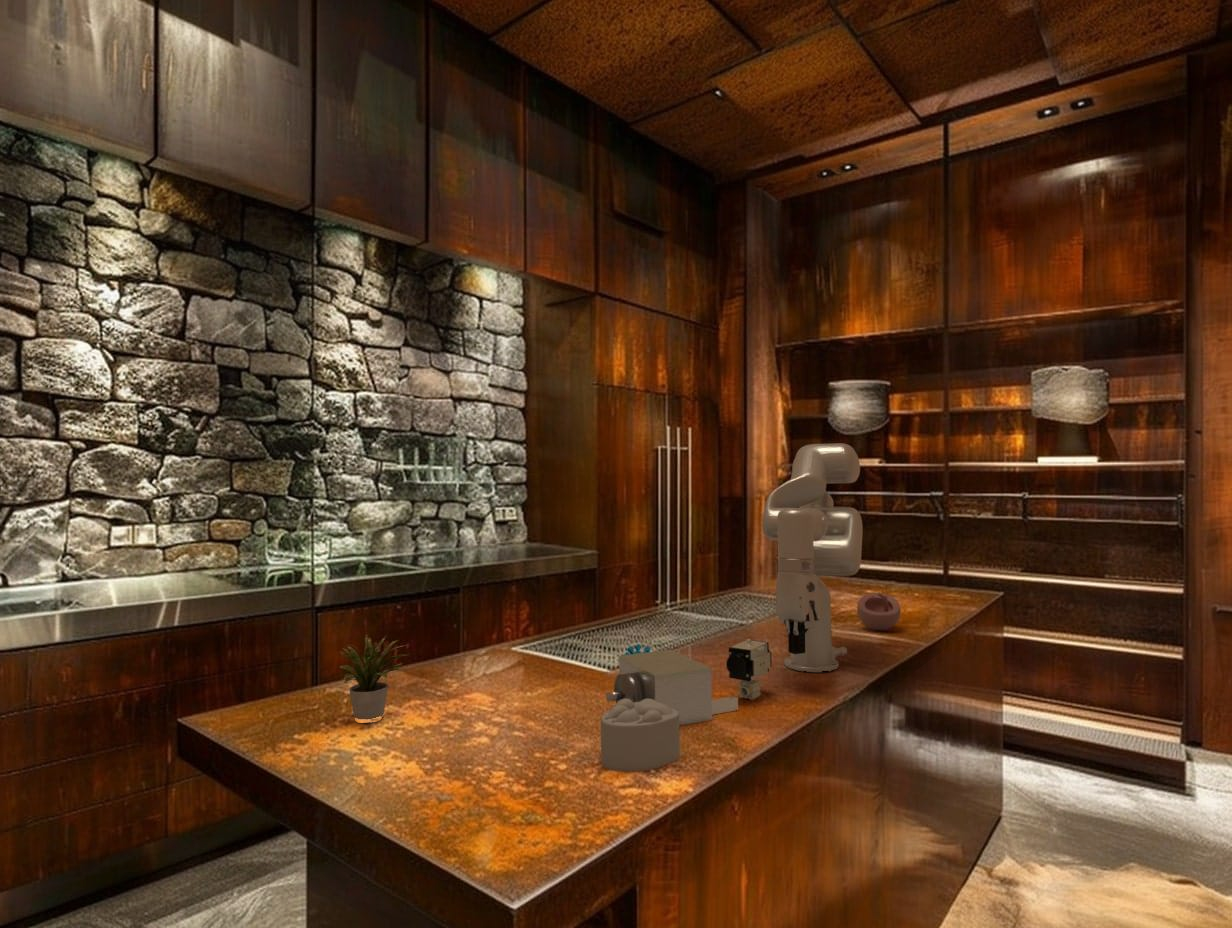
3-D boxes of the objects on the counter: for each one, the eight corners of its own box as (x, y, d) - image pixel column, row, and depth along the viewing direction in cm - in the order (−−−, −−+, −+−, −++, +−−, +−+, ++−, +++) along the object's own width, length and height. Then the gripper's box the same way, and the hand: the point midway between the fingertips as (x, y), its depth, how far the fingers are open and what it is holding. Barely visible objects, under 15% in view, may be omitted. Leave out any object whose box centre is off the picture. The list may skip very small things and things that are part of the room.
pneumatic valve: (726, 702, 143) (725, 643, 144) (752, 688, 153) (751, 632, 153) (750, 707, 140) (749, 646, 140) (776, 693, 149) (775, 636, 150)
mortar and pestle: (861, 634, 204) (860, 594, 204) (854, 625, 216) (853, 588, 216) (905, 635, 202) (904, 595, 202) (895, 626, 214) (894, 588, 214)
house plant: (371, 739, 125) (371, 646, 126) (310, 730, 130) (310, 641, 131) (420, 713, 139) (419, 630, 139) (363, 706, 144) (362, 626, 144)
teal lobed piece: (632, 681, 154) (620, 642, 160) (621, 695, 157) (610, 656, 164) (675, 681, 159) (661, 643, 166) (663, 695, 162) (650, 657, 169)
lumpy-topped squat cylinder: (688, 758, 115) (687, 705, 115) (624, 778, 108) (623, 721, 108) (648, 739, 124) (647, 690, 124) (586, 757, 116) (586, 704, 116)
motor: (702, 691, 151) (701, 645, 151) (745, 714, 136) (744, 663, 136) (592, 708, 140) (591, 659, 141) (625, 734, 126) (624, 679, 126)
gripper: (833, 568, 146) (834, 658, 145) (788, 563, 160) (789, 645, 159) (804, 570, 143) (805, 661, 142) (760, 564, 157) (761, 647, 156)
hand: (796, 652), depth 151 cm, fingers closed
